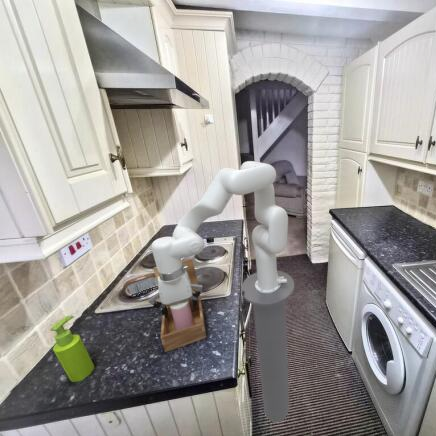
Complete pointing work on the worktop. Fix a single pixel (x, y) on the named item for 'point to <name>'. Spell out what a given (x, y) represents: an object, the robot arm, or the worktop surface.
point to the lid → (190, 272)
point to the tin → (140, 284)
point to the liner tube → (182, 314)
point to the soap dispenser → (71, 352)
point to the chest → (184, 336)
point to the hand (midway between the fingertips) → (181, 311)
